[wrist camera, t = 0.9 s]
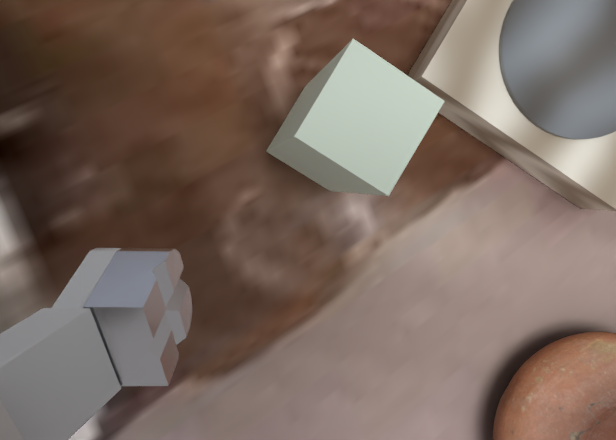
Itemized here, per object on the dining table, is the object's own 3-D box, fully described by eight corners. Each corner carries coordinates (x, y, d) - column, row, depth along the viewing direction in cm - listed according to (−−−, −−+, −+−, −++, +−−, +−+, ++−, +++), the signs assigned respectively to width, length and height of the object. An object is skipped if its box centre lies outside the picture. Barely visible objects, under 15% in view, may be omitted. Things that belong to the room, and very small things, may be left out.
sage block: (265, 151, 38) (294, 136, 25) (305, 86, 38) (353, 38, 25) (329, 191, 39) (388, 195, 26) (367, 127, 39) (444, 101, 26)
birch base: (400, 86, 39) (425, 74, 35) (504, -88, 40) (542, -123, 35) (580, 208, 42) (625, 211, 37) (676, 44, 42) (731, 27, 38)
